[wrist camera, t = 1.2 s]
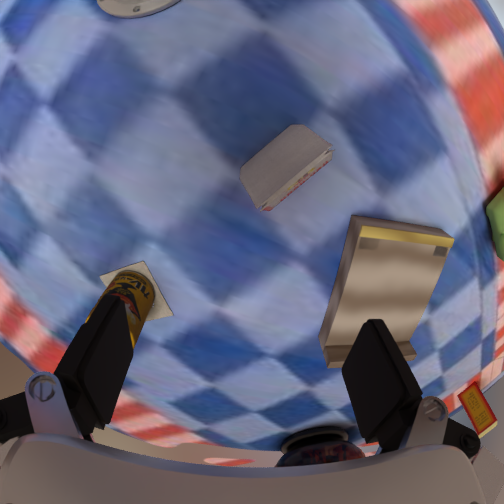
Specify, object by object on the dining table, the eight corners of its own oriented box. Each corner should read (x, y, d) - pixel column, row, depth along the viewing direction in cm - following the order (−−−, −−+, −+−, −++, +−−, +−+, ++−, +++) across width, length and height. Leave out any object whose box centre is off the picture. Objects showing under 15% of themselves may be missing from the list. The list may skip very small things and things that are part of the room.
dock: (351, 215, 29) (373, 236, 24) (440, 228, 30) (466, 248, 25) (318, 336, 37) (327, 368, 32) (398, 334, 38) (413, 360, 33)
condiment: (144, 260, 31) (104, 325, 21) (173, 314, 35) (152, 386, 24) (100, 275, 32) (56, 335, 21) (130, 324, 36) (102, 389, 25)
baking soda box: (477, 389, 54) (497, 426, 39) (461, 402, 56) (479, 439, 41) (474, 381, 51) (497, 421, 36) (457, 395, 52) (478, 436, 38)
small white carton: (240, 167, 27) (238, 190, 18) (291, 124, 25) (316, 124, 16) (265, 193, 28) (274, 228, 19) (314, 152, 26) (349, 167, 17)
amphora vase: (257, 453, 56) (261, 547, 31) (291, 417, 47) (307, 543, 22) (329, 454, 60) (344, 535, 34) (374, 417, 51) (404, 517, 26)
